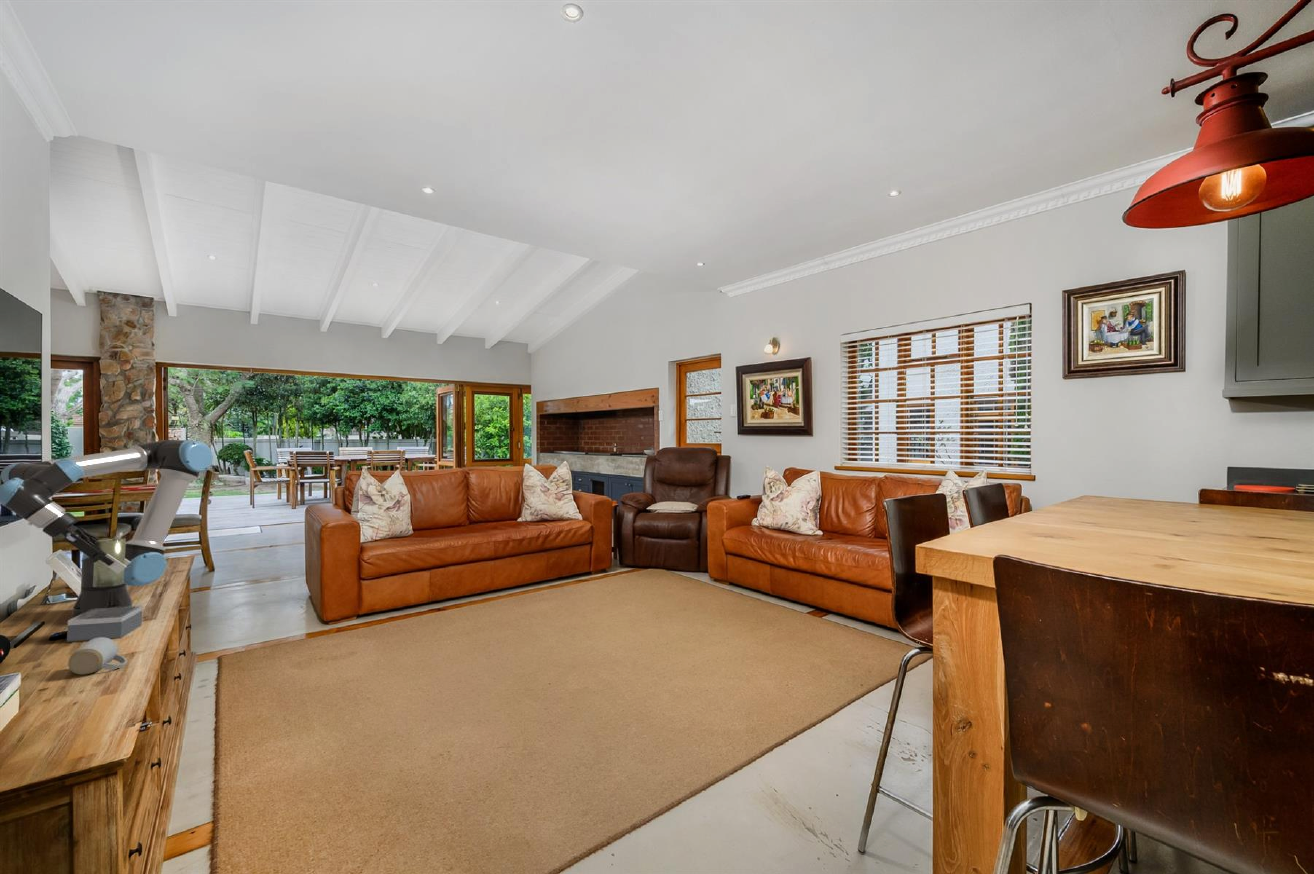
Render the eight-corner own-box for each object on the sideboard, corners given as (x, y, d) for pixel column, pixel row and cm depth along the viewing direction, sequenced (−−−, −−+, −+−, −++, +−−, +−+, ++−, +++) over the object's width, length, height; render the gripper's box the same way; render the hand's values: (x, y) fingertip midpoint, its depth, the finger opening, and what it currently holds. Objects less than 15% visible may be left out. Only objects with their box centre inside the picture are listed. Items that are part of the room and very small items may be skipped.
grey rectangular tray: (96, 625, 183) (97, 606, 183) (145, 622, 188) (146, 603, 188) (66, 641, 168) (67, 620, 168) (120, 637, 173) (121, 617, 173)
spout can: (87, 587, 172) (90, 534, 173) (100, 582, 179) (102, 531, 179) (116, 586, 175) (119, 534, 175) (128, 581, 182) (130, 530, 182)
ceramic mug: (64, 678, 144) (66, 648, 144) (81, 666, 151) (83, 638, 151) (118, 673, 148) (120, 644, 148) (131, 662, 156) (133, 634, 156)
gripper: (50, 525, 176) (118, 570, 186) (30, 534, 160) (106, 583, 170) (74, 507, 179) (140, 553, 189) (58, 515, 163) (131, 564, 173)
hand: (124, 567), depth 179 cm, fingers closed on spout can, 7 cm apart
